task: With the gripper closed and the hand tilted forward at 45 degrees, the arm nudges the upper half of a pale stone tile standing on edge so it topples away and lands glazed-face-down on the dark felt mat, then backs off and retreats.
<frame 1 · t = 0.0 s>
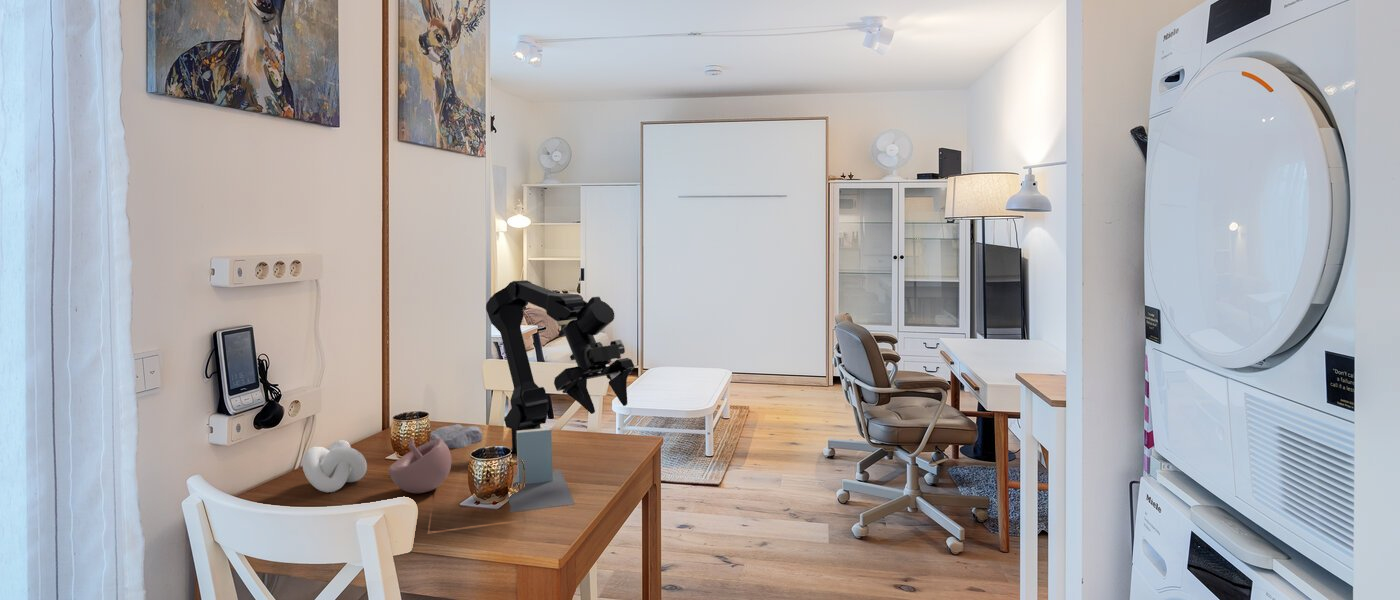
hand: (609, 409, 150), 15 cm above the table, tool tilted 35°, fingers open, 9 cm apart
tile: (535, 481, 148), resting on mat
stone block: (453, 444, 180), on the table
mat: (537, 491, 143), on the table
mortar and pestle: (421, 492, 143), on the table
white knot sculpture: (334, 486, 148), on the table
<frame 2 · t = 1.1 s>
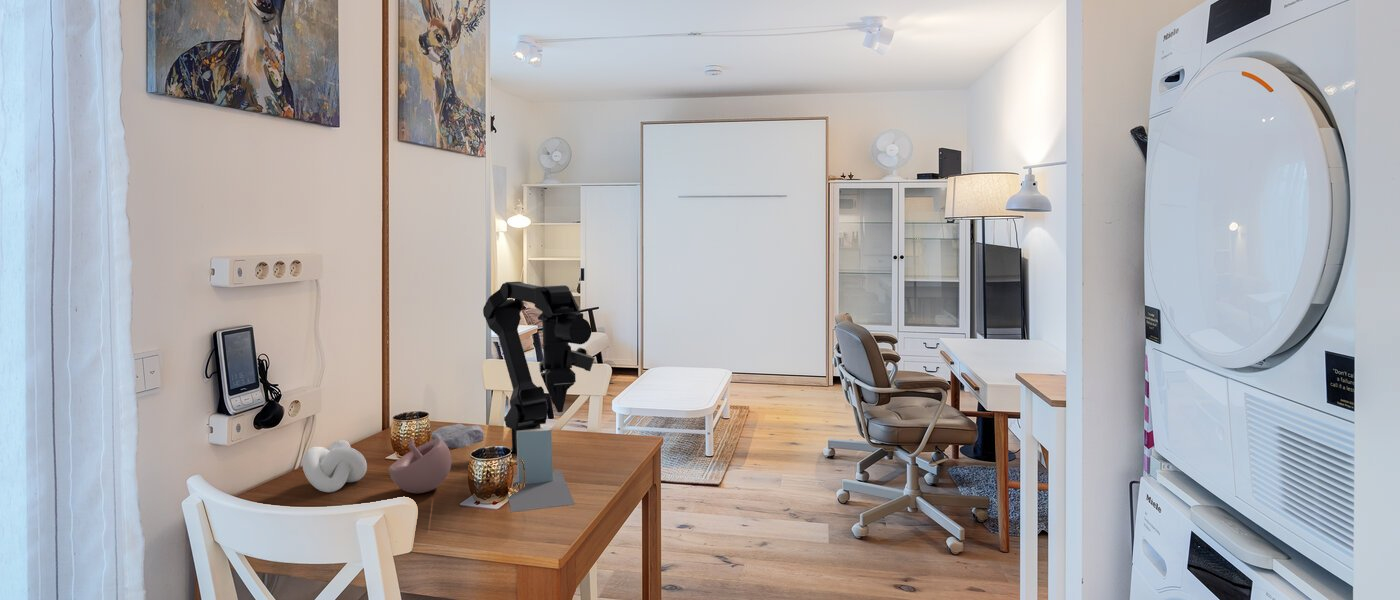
hand: (557, 407, 160), 13 cm above the table, tool pointing down, fingers open, 9 cm apart
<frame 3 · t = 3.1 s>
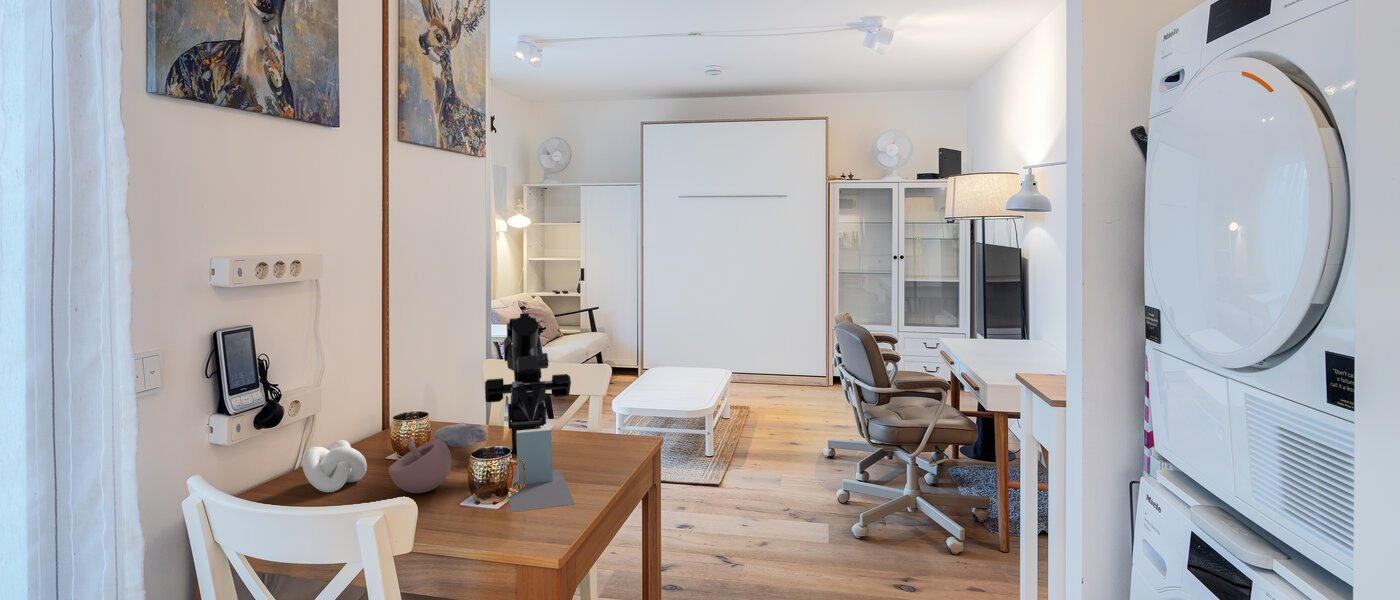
hand: (531, 420, 153), 12 cm above the table, tool tilted 45°, fingers closed
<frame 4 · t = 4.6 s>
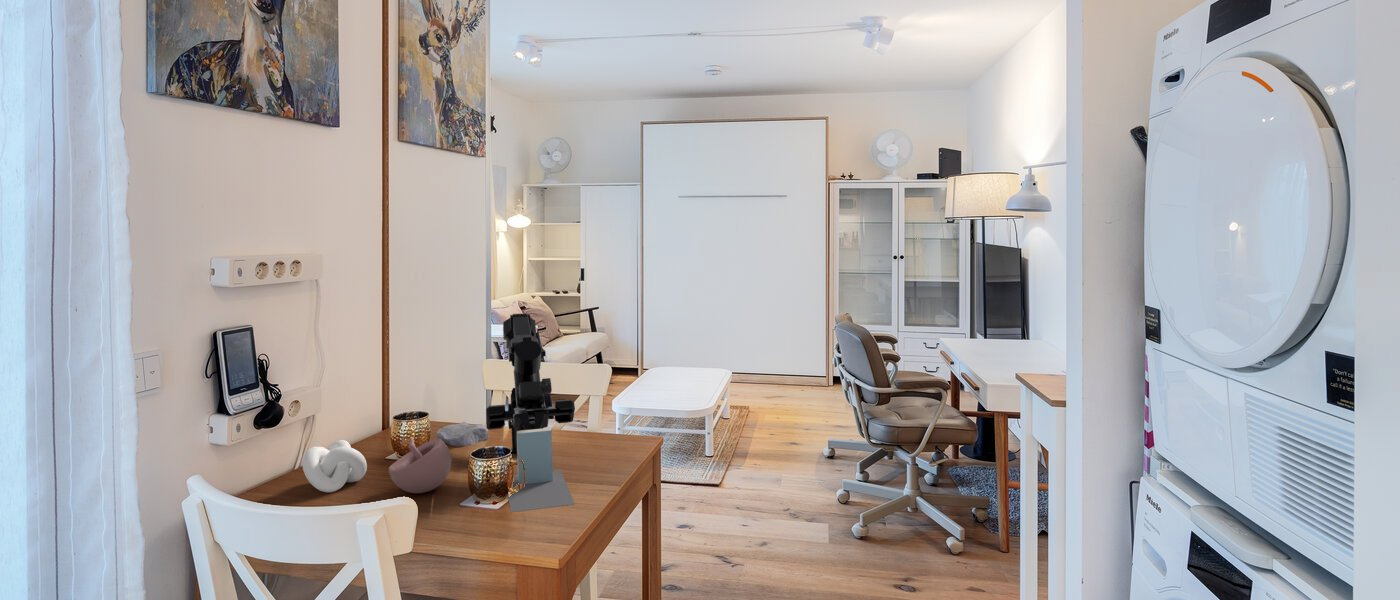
hand: (534, 447, 148), 7 cm above the table, tool tilted 45°, fingers closed, pressing on tile
tile: (535, 481, 148), resting on mat, touching gripper
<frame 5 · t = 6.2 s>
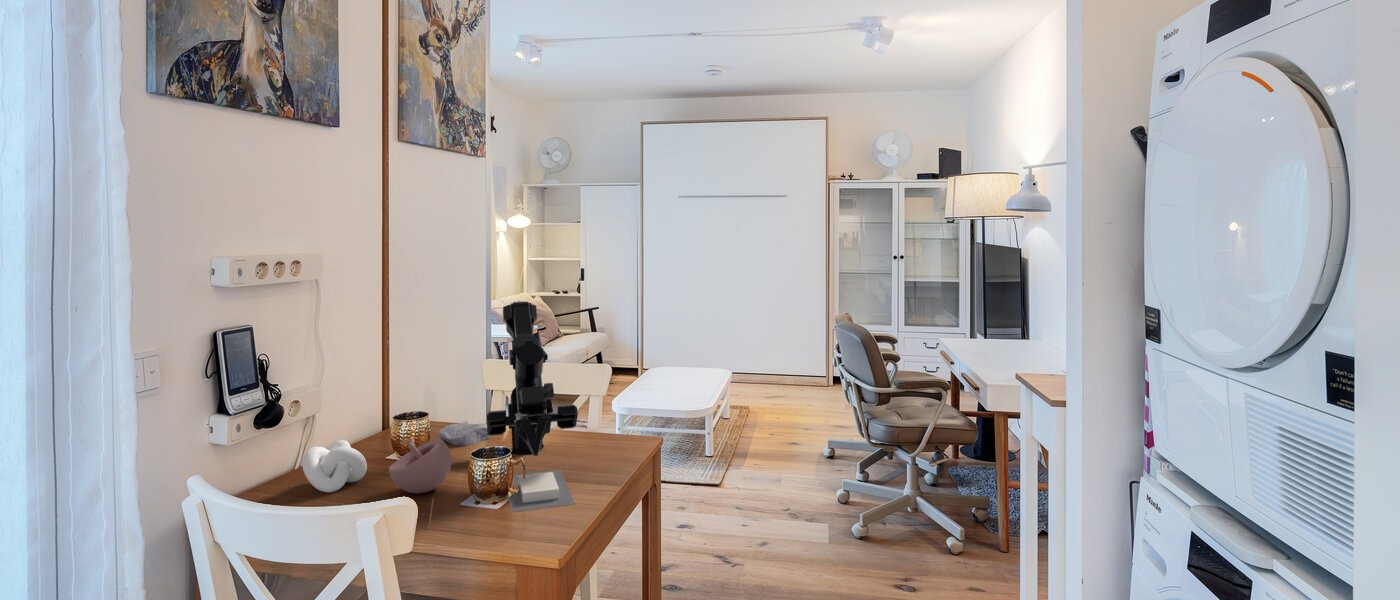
hand: (535, 455, 144), 7 cm above the table, tool tilted 45°, fingers closed
tile: (535, 478, 146), point 1 cm above the table, tilted 90°, touching mat
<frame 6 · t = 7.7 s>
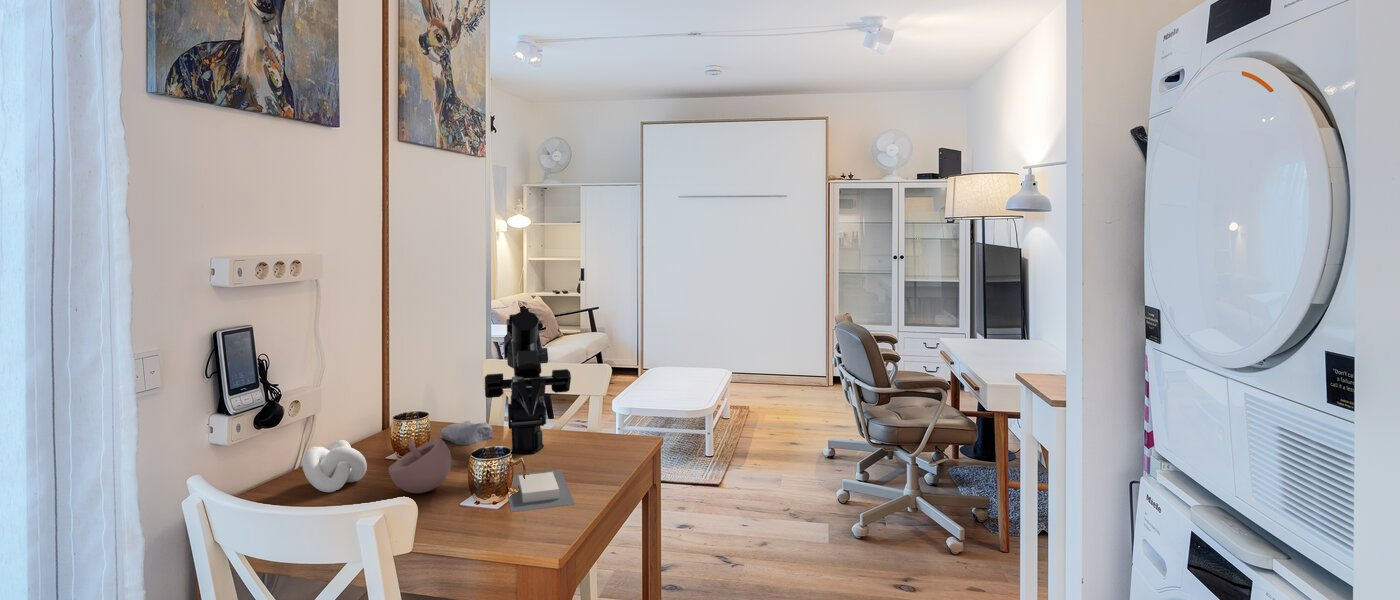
hand: (531, 414, 152), 13 cm above the table, tool tilted 45°, fingers closed
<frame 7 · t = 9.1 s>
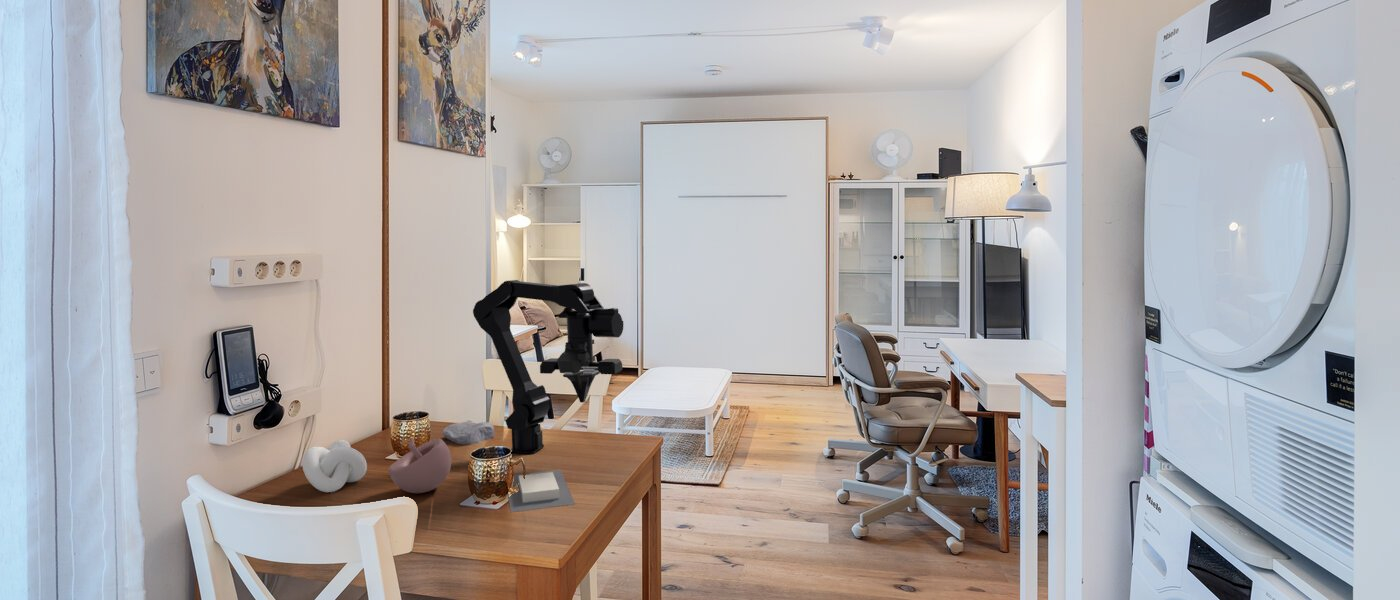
hand: (582, 402, 165), 13 cm above the table, tool pointing down, fingers closed
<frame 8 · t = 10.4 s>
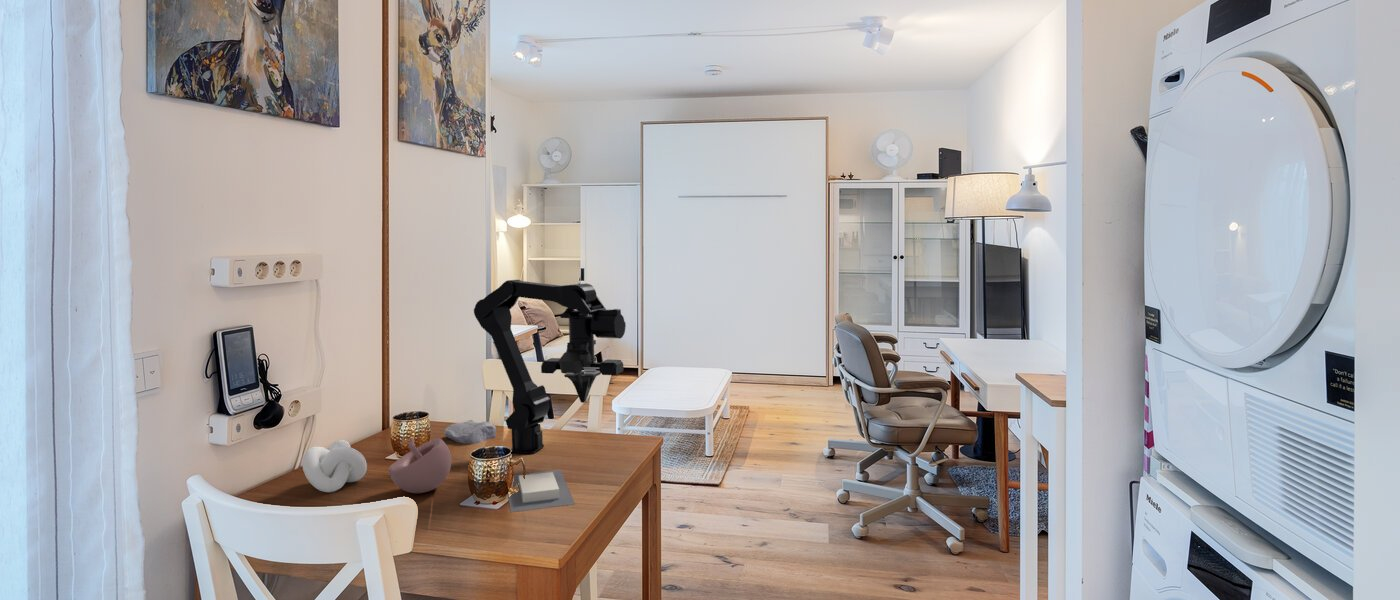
hand: (583, 402, 165), 13 cm above the table, tool pointing down, fingers closed
at the end: tile tilted 90°; tile 3.8 cm from the mat (horizontally); tile point 1.4 cm above the table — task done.
